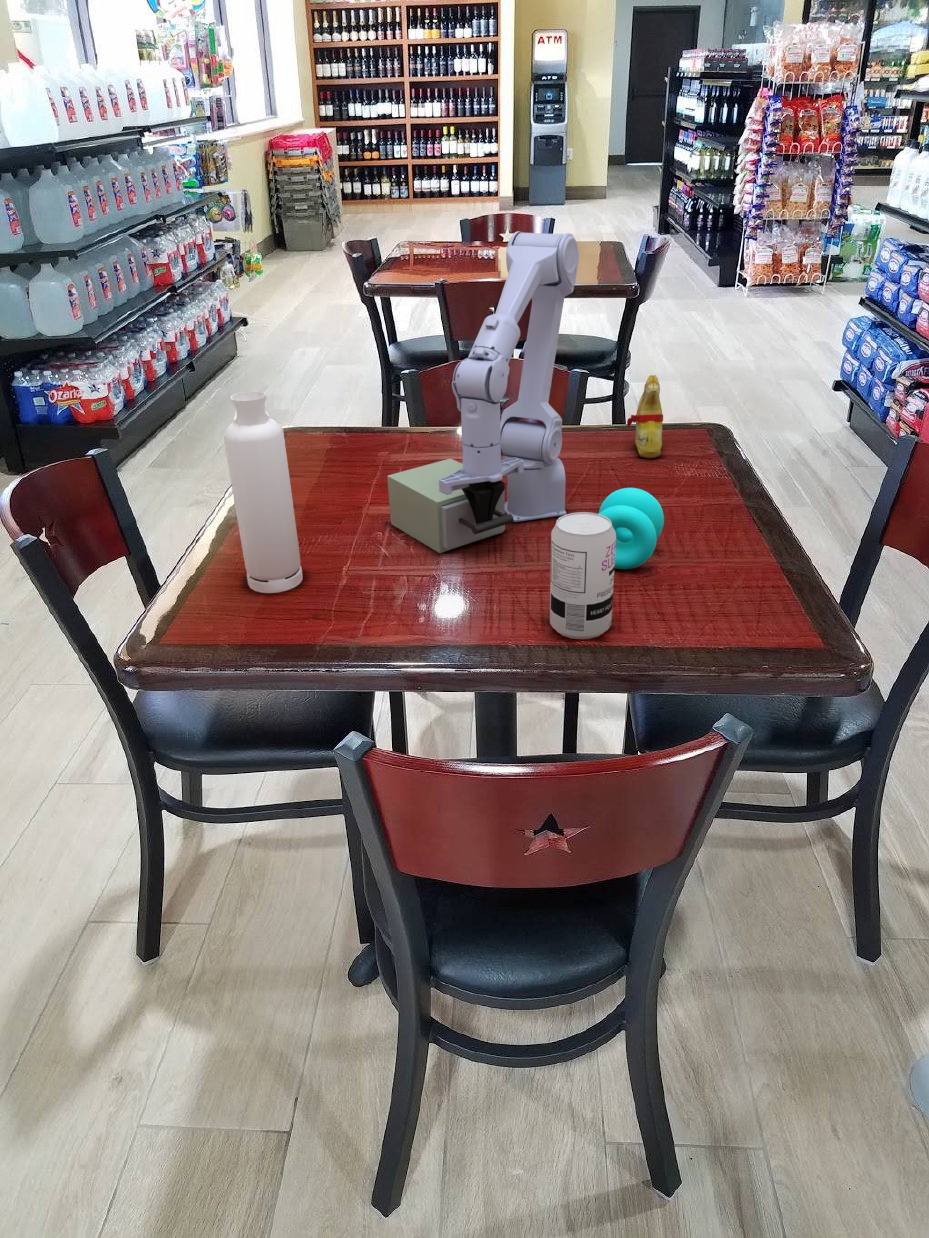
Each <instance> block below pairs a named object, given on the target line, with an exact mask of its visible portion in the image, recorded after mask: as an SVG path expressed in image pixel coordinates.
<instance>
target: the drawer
mask: <svg viewBox="0 0 929 1238" xmlns="http://www.w3.org/2000/svg"><path fill="white" fill-rule="evenodd" d="M505 500H506V499H505V490H504V491H503V493H502V494H501V496H500V498H499V500H498V502H497V505H496V508H495V511H494V514H493V518H492V520H488V521H485V522H482V523H479V524H476V521H475V517H474V514H473V511H472V508H471V506H470V503H469V501H468V499H465V500H462V501H459V502H455V503H452V504H449V505H445V506H444V505H442V507H441V522H442V543H443V548H445V549H450V548H453V547H456V546H459V545H462V544H465V543H468V542H471V541H474V540H477V539H480V538H483V537H486V536H489V535H492V534H495V533H498V532H501V531H503V532H504V531H505V530H506V525H509V524H512V523H514V522H513V520H514V519H513V516H512V515H511V514H506V513H505V502H506V501H505Z"/></svg>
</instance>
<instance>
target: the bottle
mask: <svg viewBox="0 0 929 1238" xmlns="http://www.w3.org/2000/svg"><path fill="white" fill-rule="evenodd" d="M229 398H230V399H229V400H230V403H231V404H232V405H233V406H234V408H235V409H234V415H233V421H232V422H231V423H230V424H228V426H227V427H226V428H225V430H224V434H223V442H224V447H225V454H226V458H227V465H228V471H229V478H230V483H231V484H230V485H231V490H232V495H233V502H234V507H235V513H236V520H237V526H238V532H239V538H240V545H241V549H242V550H241V551H242V556H243V563H244V569H245V571H246V580H247V585H248V587H249V589H251V590H253V591H254V592H257V593H263V594H278V593H282V592H286V591H289V590H293V589H294V588H296V587H298V585H300V584H301V583H302V581H303V569H302V565H301V554H300V545H299V538H298V532H297V524H296V517H295V507H294V500H293V493H292V486H291V477H290V471H289V463H288V462H289V461H288V455H287V449H286V439H285V433H284V428H283V426H282V425H281V424H280V423H279V422H278V421H277V420H275V419H273V418H271V417H270V415H269V413H268V412H267V411H266V407H265V405H266V400H267V393H266V392H265V391H261V390H245V391H240V392H239V391H238V392H235V393H233V394H231V395H230V397H229Z"/></svg>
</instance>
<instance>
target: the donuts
mask: <svg viewBox="0 0 929 1238" xmlns="http://www.w3.org/2000/svg"><path fill="white" fill-rule="evenodd" d="M598 514H600V515H603V516H605V517H607V518H608V519H609V520H610V521H611V523H612V526H613V528H614V530H615V532H616V548H615V567H614V569H616V570H632V569H635V568H636V569H637V568H639V567H640V566H643V565H644V564H645V563H646V562H647V561H648V560H650V558H651V557H652V556H653V554H654V552H655V549H656V547H657V541H658V538H659V537H660V535H661V534H662V532H663V528H664V524H665V514H664V511H663V508H662V505H661V504H660V503H659V501H658V500H657V498H656V497H654V496H653V495H652V494H651V493H649V491H646V490H643V489H641V488H636V487H624V488H620V489H617V490H615V491H613V492H611V493H610V494H609V495H608V496H606V497H605V499H604V500H603V501H602V503H601V505H600V507H599V511H598Z"/></svg>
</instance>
